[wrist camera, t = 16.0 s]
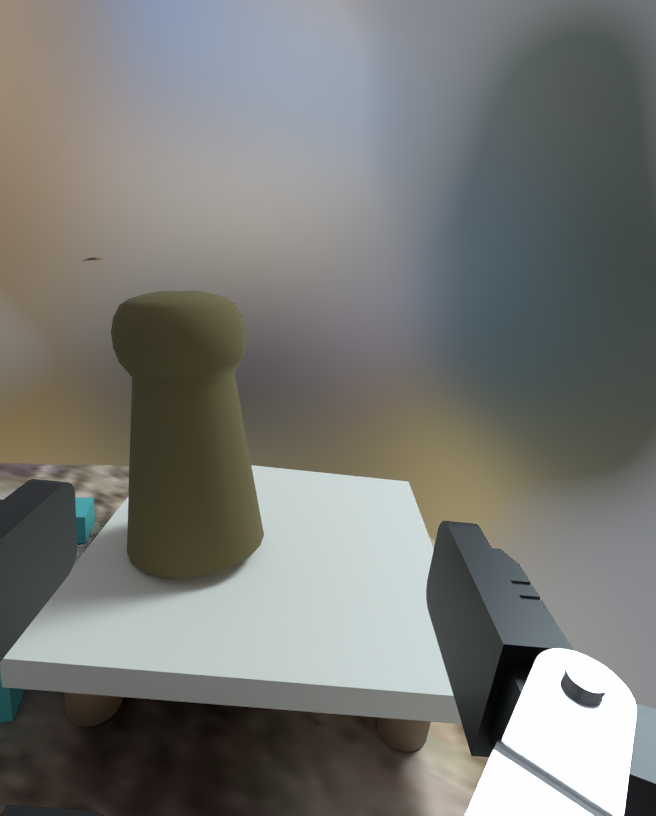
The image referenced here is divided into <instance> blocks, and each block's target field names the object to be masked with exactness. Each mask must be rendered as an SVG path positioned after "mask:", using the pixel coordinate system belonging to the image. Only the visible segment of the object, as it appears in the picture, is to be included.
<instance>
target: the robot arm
mask: <svg viewBox="0 0 656 816" xmlns="http://www.w3.org/2000/svg"><path fill="white" fill-rule="evenodd" d="M76 554H77V528H76V506H75V491H74V488H73V486H72V484H70V483H68V482H58V481H48V480H38V479H31V480H29V481H27V482H26V483H25V484H23V485H22V486H21V487H19V488H18V489H17V490H16V491H14V492H13V493H12V494H10V495H9V496H8V497H6V498H5V499H4V500H0V662H1V661H2V659H3V658H4V657H5V655H6V654H7V653H8V652H9V650H10V649H11V648H12V647H13V645H14V644H15V643H16V642H17V640H18V639H19V638H20V636H21V635H22V634H23V633H24V631H25V630H26V629H27V628H28V626H29V625H30V624H31V622H32V621H33V620H34V619H35V617H36V616H37V615H38V614H39V612H40V611H41V610H42V609H43V607H44V606H45V605H46V603H47V602H48V601H49V600H50V598H51V597H52V596H53V595H54V593H55V592H56V591H57V589H58V588H59V587H60V586H61V584H62V583H63V582H64V581H65V579H66V578H67V577H68V575H69V574H70V572H71V570H72V568H73V565H74V562H75V559H76ZM426 600H427V608H428V612H429V615H430V618H431V622H432V625H433V628H434V632H435V635H436V638H437V642H438V645H439V649H440V652H441V655H442V659H443V662H444V665H445V669H446V672H447V675H448V679H449V682H450V685H451V689H452V692H453V695H454V699H455V702H456V705H457V709H458V712H459V715H460V719H461V722H462V725H463V729H464V732H465V735H466V739H467V742H468V746H469V749H470V752H471V756H482V757H490V758H489V761H488V763H487V765H486V767H485V770H484V772H483V774H482V777H481V779H480V781H479V784H478V786H477V788H476V791H475V793H474V795H473V797H472V800H471V802H470V804H469V807H468V809H467V811H466V814H465V816H656V709H653V708H650V707H647V706H644V705H642V704H639V703H637V702H635V700H634V698H633V696H632V694H631V692H630V691H629V689H628V688H627V686H626V685H625V684H624V683H623V682H622V681H621V680H620V679H619V678H618V677H617V676H616V675H615V674H614V673H613V672H612V671H610V670H609V669H608V668H607V667H605V666H603V665H602V664H601V663H599V662H598V661H596V660H594V659H592V658H590V657H588V656H586V655H584V654H581V653H578V652H576V651H574V650H573V648H572V647H571V645H570V643H569V642H568V640H567V639H566V637H565V636H564V634H563V632H562V631H561V629H560V628H559V626H558V625H557V623H556V622H555V620H554V618H553V617H552V615H551V614H550V612H549V611H548V609H547V607H546V606H545V604H544V603H543V601H540V596H539V595H538V593H537V592H536V590H535V589H534V587H533V586H531V585H530V581H529V579H528V578H527V576H526V574H525V573H524V571H523V570H522V568H521V567H520V565H519V564H518V563H516V562H515V561H514V560H513V559H512V558H511V557H509V556H508V555H507V554H506V553H505V552H503V551H502V550H501V549H493V548H491V546H490V545H489V543H488V541H487V539H486V537H485V536H484V534H483V532H482V530H481V529H480V527H479V526H478V525H477V524H472V523H460V522H451V521H442V523H441V524H440V526H439V529H438V533H437V538H436V542H435V546H434V551H433V556H432V560H431V565H430V570H429V574H428V579H427V587H426ZM1 816H104V815H101V814H99V813H96V812H94V811H89V810H74V809H59V808H45V807H30V806H15V805H6V807H5V809H4V810H3V812H2V814H1Z"/></svg>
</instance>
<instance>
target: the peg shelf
mask: <svg viewBox="0 0 656 816" xmlns="http://www.w3.org/2000/svg"><path fill="white" fill-rule="evenodd" d="M251 467H252V472H253V477H254V483H255V488H256V494H257V499H258V505H259V510H260V516H261V521H262V526H263V532H264V537H263V539H262V542H261V545H260V547H259V548H258V549H257V550H256V551H255V552H254V553H253V554H252V555H251V556H250V557H249V558H247V559H245V560H244V561H242V562H240V563H238V564H237V565H235V566H233V567H231V568H228V569H225V570H222V571H219V572H216V573H213V574H210V575H204V576H197V577H190V578H170V577H160V576H156V575H153V574H149V573H146V572H143V571H141V570H140V569H139V568H137V567H136V566H135V565H133V564H132V563H131V561H130V559H129V556H128V554H127V531H128V499H129V496H128V497H127V498H126V500H125V501H124V502H123V504H122V505H121V506H120V507H119V509H118V510H117V511H116V512H115V514H114V515H113V516H112V517H111V519H110V520H109V521H108V522H107V524H106V525H105V526H104V527H103V529H102V530H101V531H100V532H99V534H98V535H97V536H96V537H95V539H94V540H93V541H92V542H91V544H90V545H89V546H88V547H87V549H86V550H85V551H84V552H83V554H82V555H81V556H80V557H79V559H78V560H77V561H76V562H75V564H74V565H73V568H72V570H71V572H70V574H69V575H68V577H67V578H66V579H65V581H64V582H63V583H62V584H61V586H60V587H59V588H58V589H57V591H56V592H55V593H54V595H53V596H52V597H51V598H50V600H49V601H48V602H47V603H46V605H45V606H44V607H43V609H42V610H41V611H40V612H39V614H38V615H37V616H36V617H35V619H34V620H33V621H32V622H31V624H30V625H29V626H28V628H27V629H26V630H25V631H24V633H23V634H22V635H21V636H20V638H19V639H18V640H17V642H16V643H15V644H14V645H13V647H12V648H11V649H10V650H9V652H8V653H7V654H6V655H5V657H4V658H3V659H2V661H1V662H0V671H1V680H2V687H6V688H18V689H30V690H43V691H55V692H64V700H65V714H66V717H67V719H68V721H69V722H70V723H72V724H73V725H75V726H79V727H91V726H95V725H99V724H101V723H103V722H105V721H107V720H108V719H110V718H111V717H112V716H113V715H114V714H115V713H116V712H117V711H118V709H119V708H120V706H121V704H122V701H123V697H130V698H143V699H155V700H168V701H180V702H193V703H205V704H218V705H230V706H243V707H255V708H268V709H280V710H293V711H305V712H318V713H330V714H343V715H355V716H368V717H377V728H378V731H379V733H380V735H381V737H382V738H383V740H384V741H385V742H386V743H387V744H388V745H390V746H391V747H393V748H394V749H397V750H399V751H403V752H413V751H416V750H418V749H420V748H421V747H422V746H423V745H424V744H425V742H426V739H427V735H428V731H429V727H430V723H431V722H443V723H455V724H462V722H461V719H460V715H459V712H458V709H457V705H456V702H455V699H454V695H453V692H452V689H451V685H450V682H449V679H448V675H447V672H446V669H445V665H444V662H443V659H442V655H441V652H440V649H439V645H438V642H437V638H436V635H435V632H434V628H433V625H432V622H431V618H430V615H429V612H428V608H427V600H426V587H427V579H428V574H429V570H430V565H431V560H432V556H433V551H434V549H433V546H432V543H431V541H430V538H429V535H428V533H427V530H426V527H425V525H424V522H423V520H422V517H421V514H420V511H419V509H418V506H417V504H416V501H415V498H414V496H413V493H412V490H411V487H410V485H409V482H406V481H396V480H387V479H376V478H368V477H358V476H348V475H338V474H329V473H319V472H310V471H300V470H291V469H290V470H289V469H281V468H271V467H262V466H252V465H251Z"/></svg>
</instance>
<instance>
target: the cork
mask: <svg viewBox="0 0 656 816" xmlns="http://www.w3.org/2000/svg"><path fill="white" fill-rule="evenodd" d="M111 335H112V342H113V348H114V350H115V353H116V356H117V358H118V361H119V363H120V364H121V365H122V366H123V367H124V368H125V370H126V371H127V372H128V373H129V374H130V375H131V376H132V403H131V404H132V405H131V434H130V467H129V499H128V531H127V554H128V556H129V559H130V561H131V563H132V564H133V565H135V566H136V567H137V568H139V569H140V570H141V571H143V572H146V573H149V574H153V575H156V576H160V577H170V578H190V577H197V576H204V575H210V574H213V573H216V572H219V571H222V570H225V569H228V568H231V567H233V566H235V565H237V564H238V563H240V562H242V561H244V560H245V559H247V558H249V557H250V556H251V555H252V554H253V553H254V552H255V551H256V550H257V549H258V548H259V547H260V545H261V542H262V539H263V537H264V532H263V526H262V521H261V516H260V510H259V505H258V499H257V494H256V488H255V483H254V477H253V472H252V467H251V461H250V456H249V451H248V446H247V440H246V434H245V429H244V423H243V418H242V412H241V407H240V402H239V397H238V391H237V385H236V380H235V374H234V372H235V371H236V369H237V367H238V366H239V364H240V363H241V361H242V359H243V358H244V353H245V348H246V344H247V343H246V327H245V323H244V320H243V316H242V314H241V313H240V311H239V310H238V308H237V307H236V305H235V303H233V302H232V301H230V300H229V299H227V298H226V297H222V296H218V295H214V294H210V293H205V292H200V291H159V292H153V293H148V294H144V295H140V296H137V297H133V298H130V299H128V300H126V301H125V302H124V303H122V304H121V305H119V308H118V309H117V311H116V313H115V315H114V317H113V323H112V330H111Z"/></svg>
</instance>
